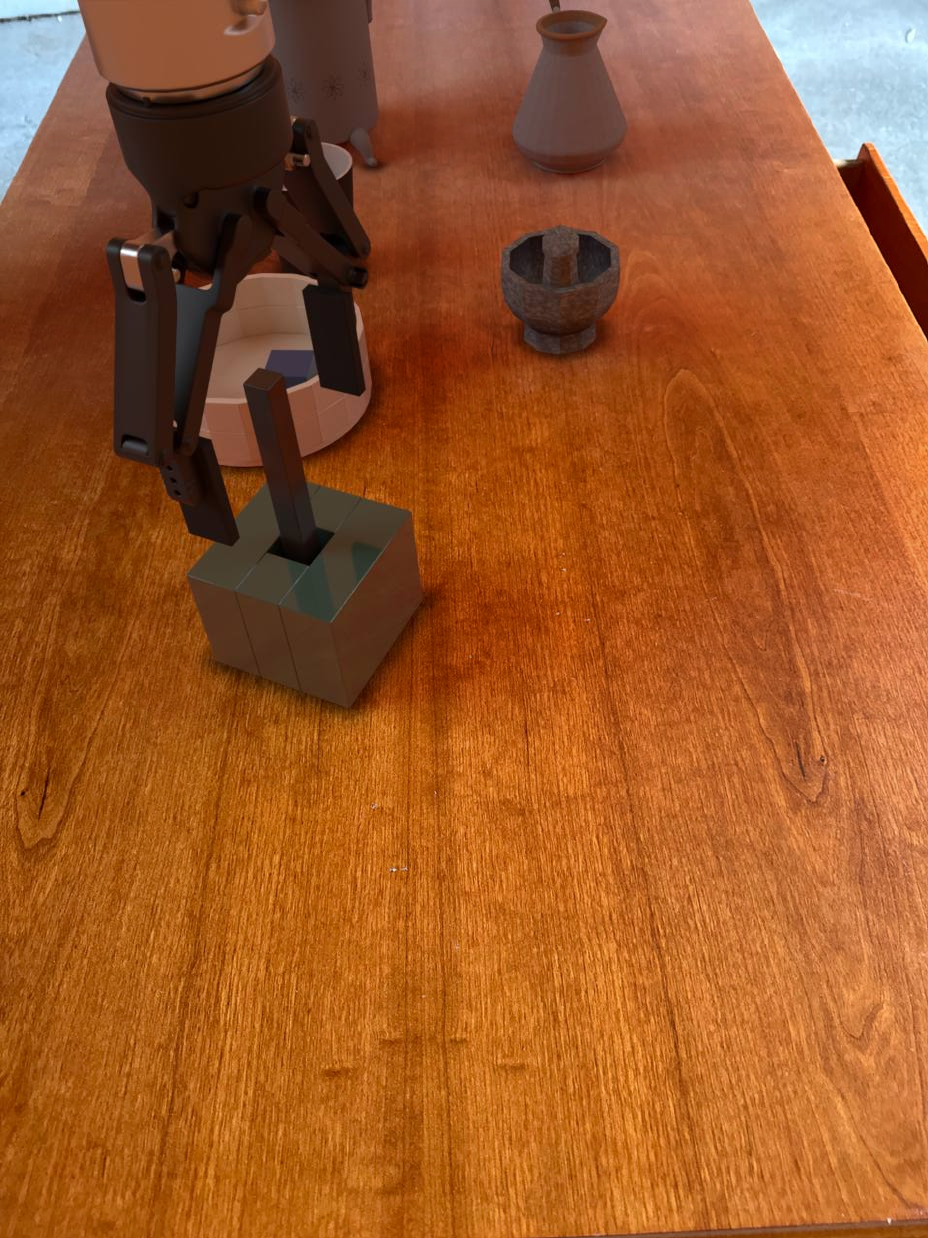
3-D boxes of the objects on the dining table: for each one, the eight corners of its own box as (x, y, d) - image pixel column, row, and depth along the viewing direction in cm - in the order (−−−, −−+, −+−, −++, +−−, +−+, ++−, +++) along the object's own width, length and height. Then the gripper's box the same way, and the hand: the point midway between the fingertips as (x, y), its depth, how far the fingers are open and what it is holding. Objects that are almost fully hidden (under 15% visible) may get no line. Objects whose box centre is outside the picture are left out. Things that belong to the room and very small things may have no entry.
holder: (215, 661, 73) (185, 574, 68) (295, 559, 79) (274, 471, 73) (349, 709, 70) (330, 623, 64) (423, 599, 76) (412, 510, 70)
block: (269, 412, 90) (261, 376, 87) (279, 385, 92) (271, 349, 89) (313, 413, 89) (306, 376, 87) (321, 386, 92) (314, 349, 89)
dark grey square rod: (304, 634, 75) (241, 383, 60) (316, 617, 75) (258, 366, 61) (325, 641, 74) (267, 390, 59) (337, 624, 75) (283, 373, 60)
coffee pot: (637, 175, 113) (645, 14, 101) (521, 188, 112) (518, 28, 101) (594, 85, 127) (598, -66, 116) (492, 96, 126) (486, -53, 115)
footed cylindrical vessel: (253, 186, 116) (195, -92, 97) (245, 123, 126) (191, -141, 107) (434, 159, 117) (411, -119, 99) (412, 99, 127) (388, -165, 109)
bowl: (115, 435, 90) (92, 372, 85) (235, 318, 100) (220, 257, 95) (301, 489, 84) (287, 425, 80) (408, 360, 94) (401, 296, 90)
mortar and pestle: (505, 301, 99) (500, 168, 90) (614, 298, 98) (619, 164, 90) (501, 379, 92) (496, 242, 83) (619, 376, 91) (626, 239, 82)
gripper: (72, 223, 39) (212, 630, 55) (406, -31, 54) (441, 348, 70) (-87, 190, 42) (90, 588, 58) (272, -44, 57) (336, 324, 72)
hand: (283, 458), depth 64 cm, fingers open, 13 cm apart
